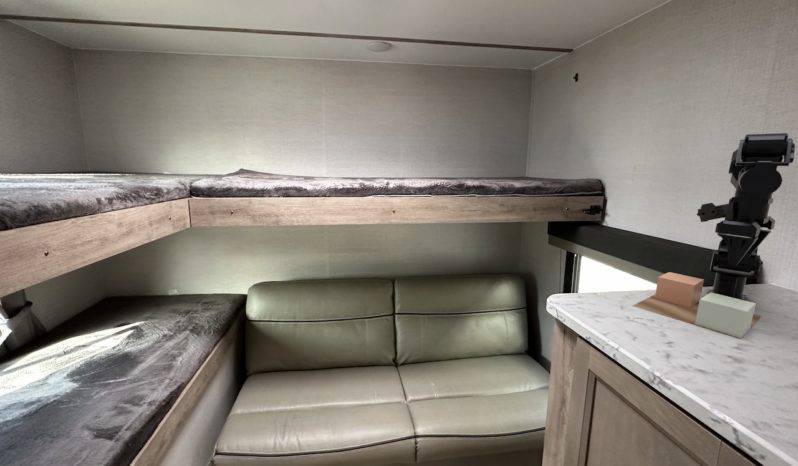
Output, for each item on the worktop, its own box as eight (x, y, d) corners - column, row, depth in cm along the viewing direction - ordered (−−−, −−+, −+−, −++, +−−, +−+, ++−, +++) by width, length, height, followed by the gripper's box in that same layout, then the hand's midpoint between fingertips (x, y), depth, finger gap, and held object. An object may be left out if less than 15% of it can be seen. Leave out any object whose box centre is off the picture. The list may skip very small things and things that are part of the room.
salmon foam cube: (665, 292, 89) (669, 272, 88) (700, 301, 84) (704, 279, 82) (654, 298, 85) (658, 276, 84) (690, 307, 80) (694, 285, 79)
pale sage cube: (705, 316, 75) (710, 292, 74) (750, 328, 70) (755, 303, 69) (694, 324, 72) (699, 299, 70) (740, 338, 66) (747, 311, 65)
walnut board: (661, 293, 91) (662, 290, 91) (761, 320, 76) (762, 316, 76) (631, 309, 81) (632, 305, 80) (739, 343, 66) (740, 338, 66)
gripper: (717, 189, 86) (705, 249, 90) (692, 192, 76) (679, 260, 79) (782, 192, 77) (766, 259, 81) (763, 196, 67) (746, 272, 70)
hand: (738, 262), depth 78 cm, fingers open, 9 cm apart
